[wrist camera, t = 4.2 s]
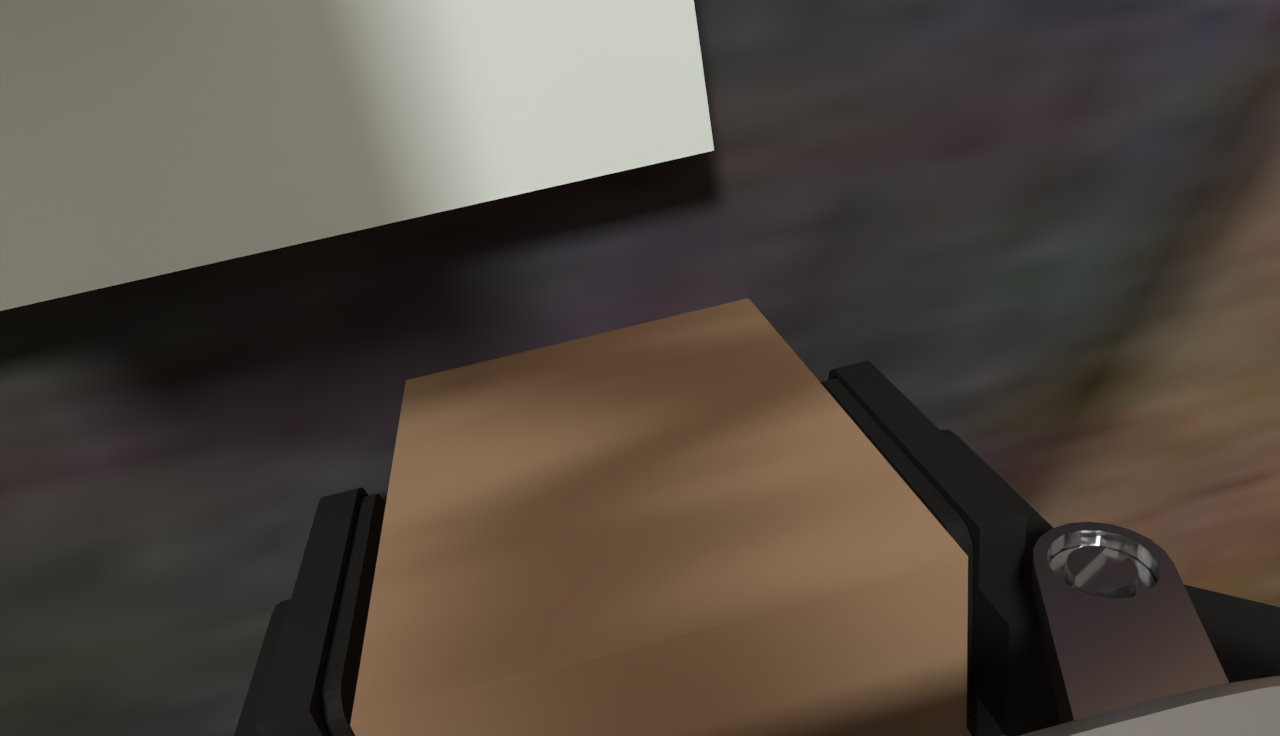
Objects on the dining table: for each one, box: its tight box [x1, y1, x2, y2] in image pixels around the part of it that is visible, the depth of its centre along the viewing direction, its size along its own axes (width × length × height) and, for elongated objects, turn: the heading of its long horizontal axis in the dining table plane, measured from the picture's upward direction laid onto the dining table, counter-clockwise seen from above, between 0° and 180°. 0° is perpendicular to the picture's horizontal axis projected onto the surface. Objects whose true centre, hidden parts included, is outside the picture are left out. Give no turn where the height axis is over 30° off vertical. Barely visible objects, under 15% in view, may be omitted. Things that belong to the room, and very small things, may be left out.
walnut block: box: [350, 298, 968, 736], centre depth 10 cm, size 5×5×6 cm
